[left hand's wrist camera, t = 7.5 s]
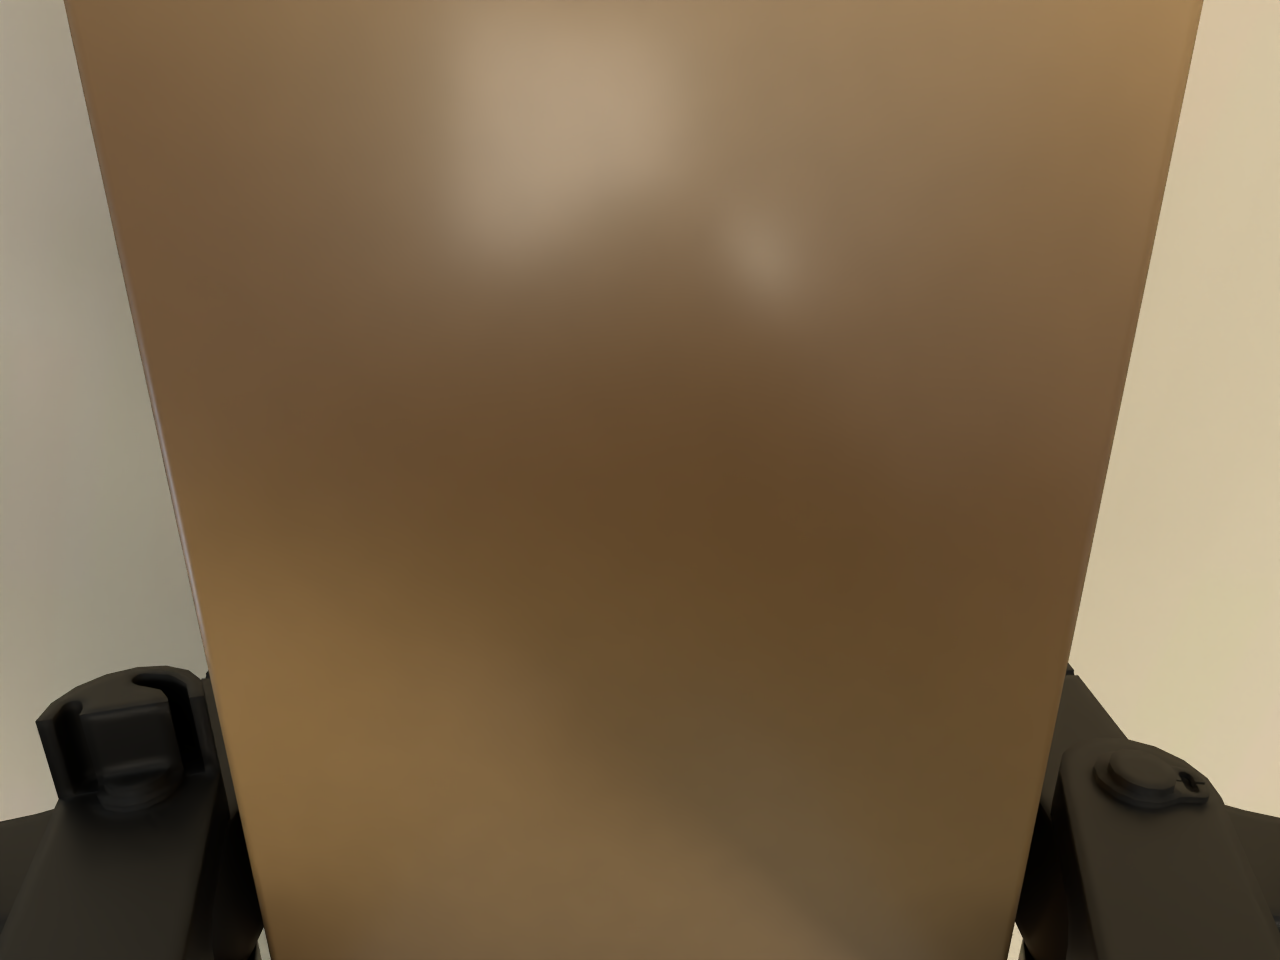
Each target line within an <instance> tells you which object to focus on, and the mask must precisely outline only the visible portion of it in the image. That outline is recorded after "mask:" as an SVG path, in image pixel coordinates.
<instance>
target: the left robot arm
mask: <svg viewBox="0 0 1280 960" xmlns="http://www.w3.org/2000/svg"><path fill="white" fill-rule="evenodd" d="M36 725H37V728H38V732H39V735H40V738H41V742H42V745H43V748H44V752H45V755H46V758H47V762H48V765H49V768H50V771H51V775H52V778H53V781H54V785H55V788H56V791H57V795H58V798H59V799H58V802H57V804H56V806H55V809H53V810H49V811H45V812H42V813H38V814H34V815H29V816H25V817H20V818H15V819H11V820H6V821H1V822H0V960H262V959H261V954H260V949H259V945H258V938H259V936H260V934H261V932H262V930H263V928H264V924H263V920H262V915H261V910H260V906H259V901H258V897H257V892H256V887H255V883H254V878H253V873H252V869H251V864H250V860H249V855H248V850H247V846H246V841H245V836H244V832H243V827H242V823H241V818H240V813H239V809H238V804H237V799H236V795H235V790H234V786H233V781H232V776H231V772H230V767H229V762H228V758H227V753H226V749H225V744H224V739H223V735H222V730H221V725H220V721H219V716H218V712H217V707H216V702H215V698H214V693H213V688H212V684H211V679H210V675H209V670H208V672H207V673H206V679H199V678H198V677H197V676H195V675H194V674H193V673H191V672H190V671H189V670H184V669H180V668H175V667H170V666H151V667H136V668H132V669H127V670H123V671H119V672H115V673H110V674H106V675H104V676H101V677H99V678H96V679H94V680H92V681H89V682H87V683H84V684H82V685H80V686H77V687H75V688H74V689H72V690H71V691H69V692H68V693H66V694H65V695H63V696H62V697H60V698H58V699H57V700H55V701H54V702H52V703H51V704H50V705H49V706H48V708H47V709H46V710H45V711H44V712H43V713H42V715H41V716H40V717H39V718H38V719H37V720H36ZM1015 922H1016V924H1017V927H1018V929H1019V931H1020V933H1021V935H1022V937H1023V940H1022V945H1021V949H1020V954H1019V959H1018V960H1280V818H1278V817H1274V816H1269V815H1264V814H1259V813H1255V812H1250V811H1245V810H1241V809H1238V808H1234V807H1230V806H1227V805H1224V802H1223V800H1222V798H1221V796H1220V795H1219V794H1218V792H1217V791H1216V789H1215V788H1214V787H1213V785H1212V784H1211V783H1210V781H1209V780H1208V778H1206V777H1205V776H1204V775H1202V774H1201V773H1200V772H1199V771H1197V770H1196V769H1195V768H1193V767H1192V766H1191V765H1189V764H1188V763H1187V762H1185V761H1184V760H1182V759H1180V758H1178V757H1176V756H1174V755H1172V754H1169V753H1167V752H1165V751H1163V750H1161V749H1159V748H1157V747H1154V746H1151V745H1147V744H1143V743H1139V742H1136V741H1132V740H1128V739H1127V737H1126V736H1125V735H1124V734H1123V732H1122V731H1121V730H1120V728H1119V727H1118V726H1117V725H1116V723H1115V722H1114V721H1113V720H1112V718H1111V717H1110V716H1109V714H1108V713H1107V712H1106V711H1105V709H1104V708H1103V707H1102V705H1101V704H1100V703H1099V702H1098V700H1097V699H1096V698H1095V697H1094V695H1093V694H1092V693H1091V691H1090V690H1089V689H1088V688H1087V686H1086V685H1085V684H1084V682H1083V681H1082V680H1081V679H1080V677H1079V676H1078V675H1074V670H1073V668H1072V667H1071V666H1070V665H1069V663H1068V664H1067V669H1066V674H1065V679H1064V684H1063V689H1062V694H1061V699H1060V703H1059V708H1058V713H1057V718H1056V723H1055V728H1054V733H1053V738H1052V743H1051V747H1050V752H1049V757H1048V762H1047V767H1046V772H1045V777H1044V782H1043V787H1042V791H1041V796H1040V801H1039V806H1038V811H1037V816H1036V821H1035V826H1034V830H1033V835H1032V840H1031V845H1030V850H1029V855H1028V860H1027V865H1026V870H1025V874H1024V879H1023V884H1022V889H1021V894H1020V899H1019V904H1018V909H1017V914H1016V918H1015Z"/></svg>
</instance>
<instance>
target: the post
mask: <svg viewBox="0 0 1280 960" xmlns="http://www.w3.org/2000/svg"><path fill="white" fill-rule="evenodd" d="M64 4H65V9H66V13H67V18H68V23H69V27H70V32H71V36H72V41H73V46H74V50H75V55H76V60H77V64H78V69H79V73H80V78H81V83H82V87H83V92H84V97H85V101H86V106H87V110H88V115H89V120H90V124H91V129H92V134H93V138H94V143H95V147H96V152H97V157H98V161H99V166H100V171H101V175H102V180H103V184H104V189H105V194H106V198H107V203H108V208H109V212H110V217H111V221H112V226H113V231H114V235H115V240H116V245H117V249H118V254H119V258H120V263H121V268H122V272H123V277H124V282H125V286H126V291H127V295H128V300H129V305H130V309H131V314H132V319H133V323H134V328H135V332H136V337H137V342H138V346H139V351H140V356H141V360H142V365H143V369H144V374H145V379H146V383H147V388H148V393H149V397H150V402H151V406H152V411H153V416H154V420H155V425H156V430H157V434H158V439H159V443H160V448H161V453H162V457H163V462H164V466H165V471H166V476H167V480H168V485H169V490H170V494H171V499H172V503H173V508H174V513H175V517H176V522H177V527H178V531H179V536H180V540H181V545H182V550H183V554H184V559H185V564H186V568H187V573H188V577H189V582H190V587H191V591H192V596H193V601H194V605H195V610H196V614H197V619H198V624H199V628H200V633H201V638H202V642H203V647H204V651H205V656H206V661H207V665H208V670H209V675H210V679H211V684H212V688H213V693H214V698H215V702H216V707H217V712H218V716H219V721H220V725H221V730H222V735H223V739H224V744H225V749H226V753H227V758H228V762H229V767H230V772H231V776H232V781H233V786H234V790H235V795H236V799H237V804H238V809H239V813H240V818H241V823H242V827H243V832H244V836H245V841H246V846H247V850H248V855H249V860H250V864H251V869H252V873H253V878H254V883H255V887H256V892H257V897H258V901H259V906H260V910H261V915H262V920H263V924H264V929H265V934H266V938H267V943H268V947H269V952H270V957H271V960H1007V958H1008V953H1009V948H1010V943H1011V938H1012V933H1013V928H1014V923H1015V918H1016V914H1017V909H1018V904H1019V899H1020V894H1021V889H1022V884H1023V879H1024V874H1025V870H1026V865H1027V860H1028V855H1029V850H1030V845H1031V840H1032V835H1033V830H1034V826H1035V821H1036V816H1037V811H1038V806H1039V801H1040V796H1041V791H1042V787H1043V782H1044V777H1045V772H1046V767H1047V762H1048V757H1049V752H1050V747H1051V743H1052V738H1053V733H1054V728H1055V723H1056V718H1057V713H1058V708H1059V703H1060V699H1061V694H1062V689H1063V684H1064V679H1065V674H1066V669H1067V664H1068V660H1069V655H1070V650H1071V645H1072V640H1073V635H1074V630H1075V625H1076V620H1077V616H1078V611H1079V606H1080V601H1081V596H1082V591H1083V586H1084V581H1085V576H1086V572H1087V567H1088V562H1089V557H1090V552H1091V547H1092V542H1093V537H1094V533H1095V528H1096V523H1097V518H1098V513H1099V508H1100V503H1101V498H1102V493H1103V489H1104V484H1105V479H1106V474H1107V469H1108V464H1109V459H1110V454H1111V449H1112V445H1113V440H1114V435H1115V430H1116V425H1117V420H1118V415H1119V410H1120V405H1121V401H1122V396H1123V391H1124V386H1125V381H1126V376H1127V371H1128V366H1129V362H1130V357H1131V352H1132V347H1133V342H1134V337H1135V332H1136V327H1137V322H1138V318H1139V313H1140V308H1141V303H1142V298H1143V293H1144V288H1145V283H1146V278H1147V274H1148V269H1149V264H1150V259H1151V254H1152V249H1153V244H1154V239H1155V235H1156V230H1157V225H1158V220H1159V215H1160V210H1161V205H1162V200H1163V195H1164V191H1165V186H1166V181H1167V176H1168V171H1169V166H1170V161H1171V156H1172V151H1173V147H1174V142H1175V137H1176V132H1177V127H1178V122H1179V117H1180V112H1181V108H1182V103H1183V98H1184V93H1185V88H1186V83H1187V78H1188V73H1189V68H1190V64H1191V59H1192V54H1193V49H1194V44H1195V39H1196V34H1197V29H1198V24H1199V20H1200V15H1201V10H1202V5H1203V0H64Z"/></svg>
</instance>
